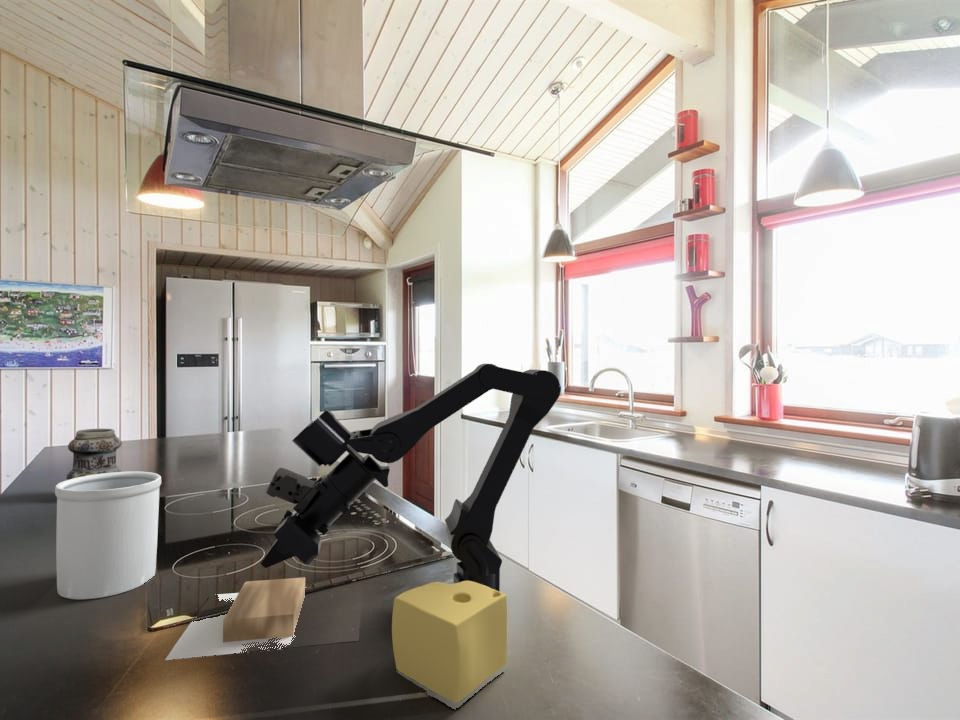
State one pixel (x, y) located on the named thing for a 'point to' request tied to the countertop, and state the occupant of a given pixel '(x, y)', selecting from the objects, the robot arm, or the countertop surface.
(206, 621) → the mat
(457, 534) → the robot arm
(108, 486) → the utensil holder
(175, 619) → the countertop surface
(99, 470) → the apothecary jar
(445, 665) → the cheese
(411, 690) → the countertop surface
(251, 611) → the oak board
